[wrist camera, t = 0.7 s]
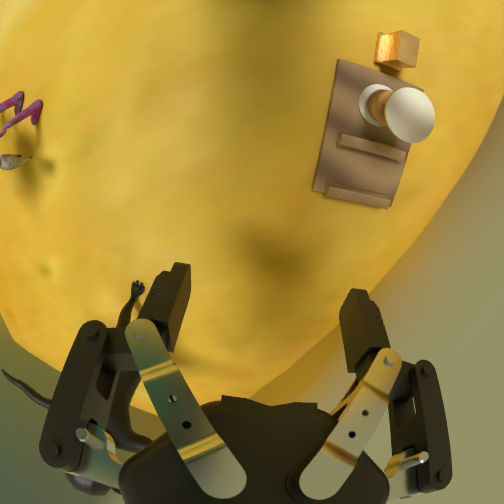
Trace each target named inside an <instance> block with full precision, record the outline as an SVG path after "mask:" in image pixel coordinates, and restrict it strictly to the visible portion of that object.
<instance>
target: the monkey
mask: <svg viewBox="0 0 504 504" xmlns="http://www.w3.org/2000/svg"><path fill="white" fill-rule="evenodd" d="M141 287H142V283H140V285H139V286H138V280H137V281H136V283H135V285H134V282H133V283H132V287H131V297H130V300H129V301H128V302H127V303H126V305H125V306H124V307H123V309H122V310H121V313H120V315H119V319H118V323H117V326H116V328H120V327H126V326H127V325H128V324H129V323H130V320H131V312H132V308H133V306H134V304H135V302H136V301H137V297H138V296H140V295H141V294H142V293H143V290H144V286H143V287H142V289H141ZM2 372H3V373H4V375H5V376H6V378H7V379H8V380H9V381H10V382H11V383H13V384H14V385H16V386H18V387H19V388H20V389H21V390H23V391H24V392H25V393H26V395H27V396H29V397H30V398H31V399H32V400H33V401H34V402H36V403H37V404H39V405H41V406H43V407H45V408H47V409H48V410H49V407H50V404H51V401H52V399H47V398H45V397H43V396H41V395H40V394H39V393H37V392H36V391H35V390H34V389H32V388H31V387H30V386H29V385H27V384H26V383H24V382H22V381H21V380H18V379H16V378H14V377H12V376H10V375H9V374H8V373H6V372H5V371H4V370H3V369H2ZM140 381H141V376H140V373H139V371H121V372H120V376H119V379H118V383H117V387H116V390H115V394H114V398H113V401H112V405H111V409H110V413H109V417H108V422H107V426H106V430H105V432H106V433H108V434H109V435H110V436H111V437H112V439H113V440H114V443H115V448H117V449H122V450H125V451H128V452H132V453H138V452H139V451H141V450H142V449H143V448H145V447H146V446H147V445H149V444H150V443H151V442H153V441H152V440H151V439H149V438H147V437H146V436H142V435H139V434H137V433H135V432H134V431H133V430H132V428H131V423H130V416H129V406H130V402H131V399H132V397H133V395H134V393H135V390H136V388H137V387H138V385H139V383H140ZM65 477H66V478H67V480H68V481H69V483H70V484H71V485H72V486H73V487H74V488H75V489H78V490H80V491H82V492H84V493H86V494H89V495H96V496H99V495H105V494H107V493H108V491H109V490H110V489H111V487H110V486H107V485H104V484H102V483H99V482H96V481H93V480H91V479H88V478H86V477H83V476H77V475H73V474H70V473H66V472H65ZM112 489H113V491H114V492H117V493H119V494H121V492H120V489H116V488H113V487H112Z"/></svg>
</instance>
